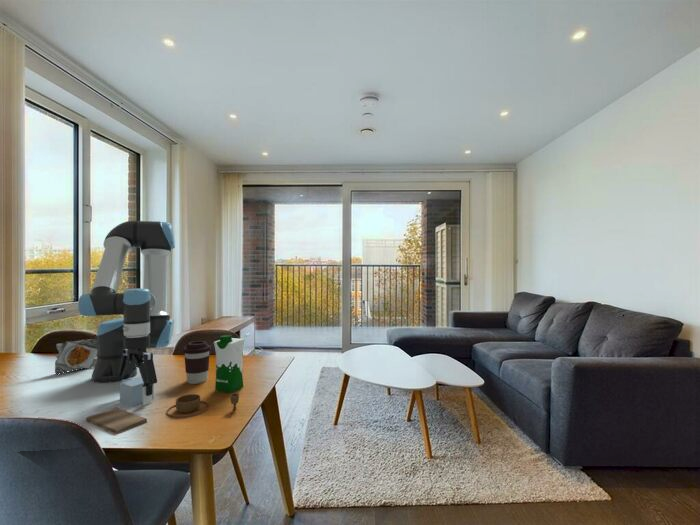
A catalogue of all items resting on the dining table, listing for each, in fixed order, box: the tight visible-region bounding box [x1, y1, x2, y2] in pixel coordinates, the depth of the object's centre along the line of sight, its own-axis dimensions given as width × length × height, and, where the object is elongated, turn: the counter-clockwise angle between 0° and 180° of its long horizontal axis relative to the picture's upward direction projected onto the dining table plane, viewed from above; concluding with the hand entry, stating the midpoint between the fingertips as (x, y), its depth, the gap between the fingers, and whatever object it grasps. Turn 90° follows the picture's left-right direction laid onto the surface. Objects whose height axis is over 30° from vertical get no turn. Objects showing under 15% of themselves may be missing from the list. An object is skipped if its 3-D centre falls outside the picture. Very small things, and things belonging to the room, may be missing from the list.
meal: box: [54, 338, 97, 375], centre depth 147 cm, size 15×4×13 cm, turn 142°
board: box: [85, 406, 148, 435], centre depth 99 cm, size 16×8×2 cm, turn 61°
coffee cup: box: [182, 340, 212, 385], centre depth 135 cm, size 10×10×15 cm
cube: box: [119, 376, 155, 407], centre depth 115 cm, size 7×7×7 cm
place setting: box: [166, 392, 240, 419], centre depth 106 cm, size 18×20×6 cm
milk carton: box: [213, 334, 245, 394], centre depth 126 cm, size 9×9×20 cm
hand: (136, 401), depth 115 cm, fingers open, 11 cm apart
